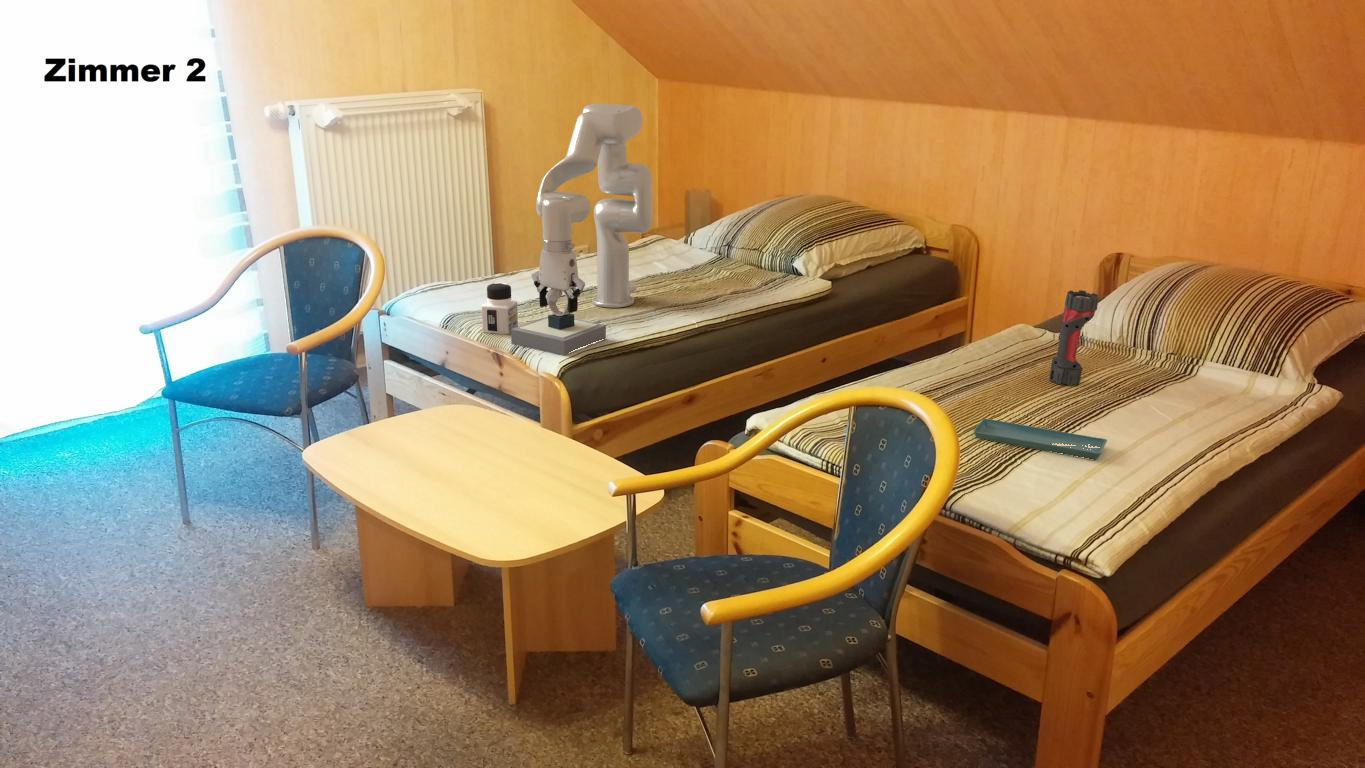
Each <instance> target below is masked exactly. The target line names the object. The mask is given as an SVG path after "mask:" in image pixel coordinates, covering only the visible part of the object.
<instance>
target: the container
mask: <svg viewBox="0 0 1365 768" xmlns="http://www.w3.org/2000/svg"><path fill="white" fill-rule="evenodd" d="M486 301H487V302H486V303H483V304H481V325H482V326H481V327H482V333H484V334H485V333H487V334H497V335H511V329H513V328H516V327H519V321H518V320H519V319H518V317H519V315H518V313H519V312H518V301H517V300H512V286H511V285H510V284H508V283H505V282H494V283H490V284H489V285H487V287H486Z"/></svg>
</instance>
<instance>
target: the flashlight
mask: <svg viewBox="0 0 1365 768" xmlns="http://www.w3.org/2000/svg"><path fill="white" fill-rule="evenodd" d="M1064 302H1065V303H1064V309H1063V314H1062V323H1061V329H1060V335H1059V339H1058V340H1059V342H1058V346H1057V347H1058V348H1057V352H1056V356H1055V357H1053V358H1052V360H1051V365H1050V372H1049V379H1048V380H1049V382H1053V383H1055V384H1056V385H1060V386H1061V385H1062V384H1063V385H1066V386H1067V387H1072V386H1073V385H1077V386H1079V385H1080V383H1081V379H1082V378H1081V377H1082V372H1083V369H1084V368H1083V367H1082V365H1081V364H1080V363H1079V362H1078V361H1077V351H1078V348H1079V343H1080V339H1081V338H1080V336H1081V331H1082V329H1083V327H1084V326H1085V325H1086V324H1087V323H1088V322H1090V321H1092V320H1093V318H1094V317H1095V313H1096V311H1097V310H1098V302H1099V297H1098V294H1097V293H1095V292H1093V293H1088V292H1087V291H1086V290H1081V289H1080V290H1078V291H1074V290H1069V291H1067V294H1066V298H1065V301H1064Z"/></svg>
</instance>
